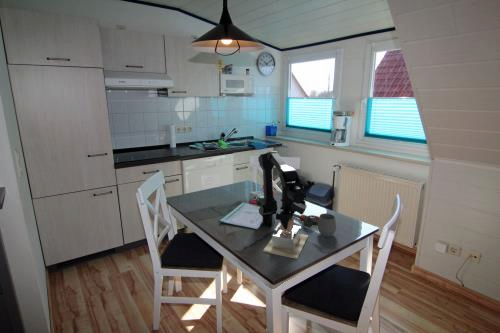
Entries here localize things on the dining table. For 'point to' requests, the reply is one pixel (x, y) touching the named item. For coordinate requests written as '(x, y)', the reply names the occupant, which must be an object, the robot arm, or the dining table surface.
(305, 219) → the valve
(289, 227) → the brown block with knob
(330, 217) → the cup
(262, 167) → the robot arm
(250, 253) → the dining table surface
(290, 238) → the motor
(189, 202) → the dining table surface
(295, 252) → the mounting board
